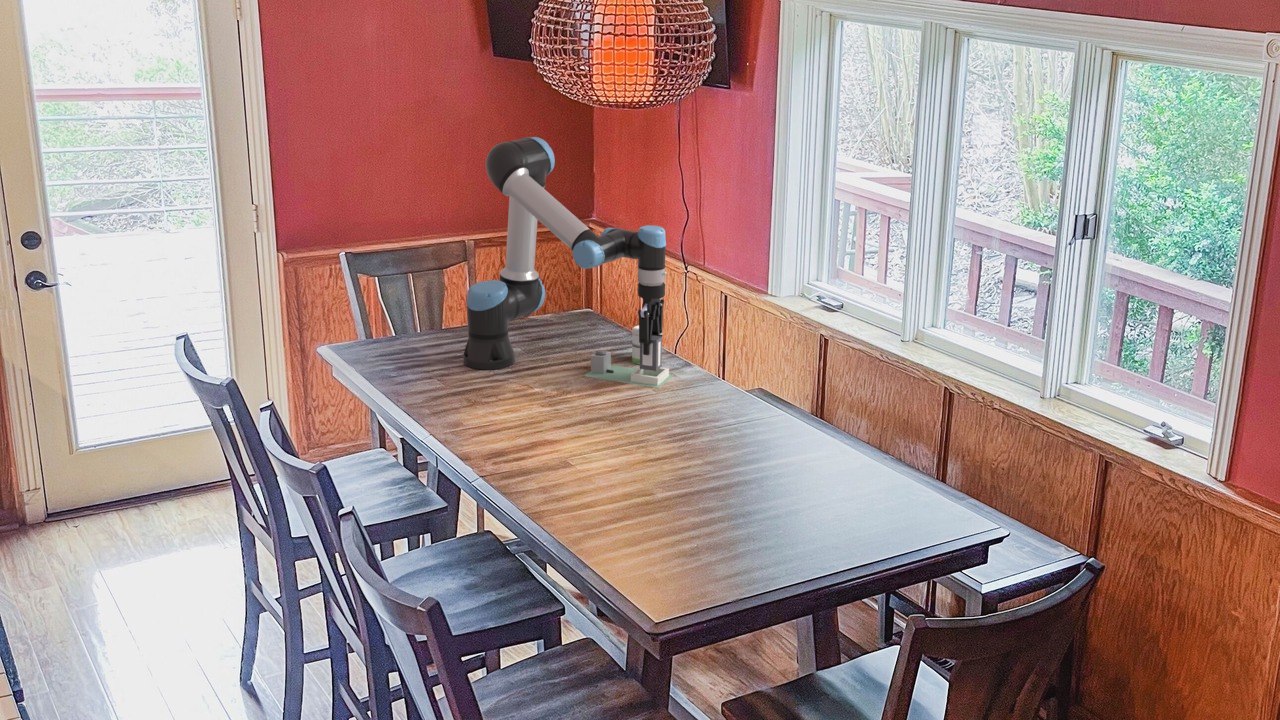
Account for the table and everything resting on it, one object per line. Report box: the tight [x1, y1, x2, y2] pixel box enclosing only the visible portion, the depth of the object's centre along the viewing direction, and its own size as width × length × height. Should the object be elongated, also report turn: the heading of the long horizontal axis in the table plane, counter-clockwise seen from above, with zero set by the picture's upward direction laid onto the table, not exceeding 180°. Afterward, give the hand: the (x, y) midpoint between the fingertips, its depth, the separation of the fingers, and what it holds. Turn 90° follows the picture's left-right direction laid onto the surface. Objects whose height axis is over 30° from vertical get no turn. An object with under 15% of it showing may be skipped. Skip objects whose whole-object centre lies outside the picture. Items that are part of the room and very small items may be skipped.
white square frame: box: [631, 366, 670, 386], centre depth 353 cm, size 8×9×2 cm
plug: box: [639, 335, 663, 371], centre depth 350 cm, size 5×4×9 cm
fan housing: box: [590, 349, 614, 374], centre depth 358 cm, size 6×5×6 cm
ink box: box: [631, 324, 663, 365], centre depth 367 cm, size 9×5×12 cm, turn 140°
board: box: [583, 364, 674, 389], centre depth 356 cm, size 23×12×1 cm, turn 67°
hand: (650, 362), depth 351 cm, fingers closed on plug, 4 cm apart
